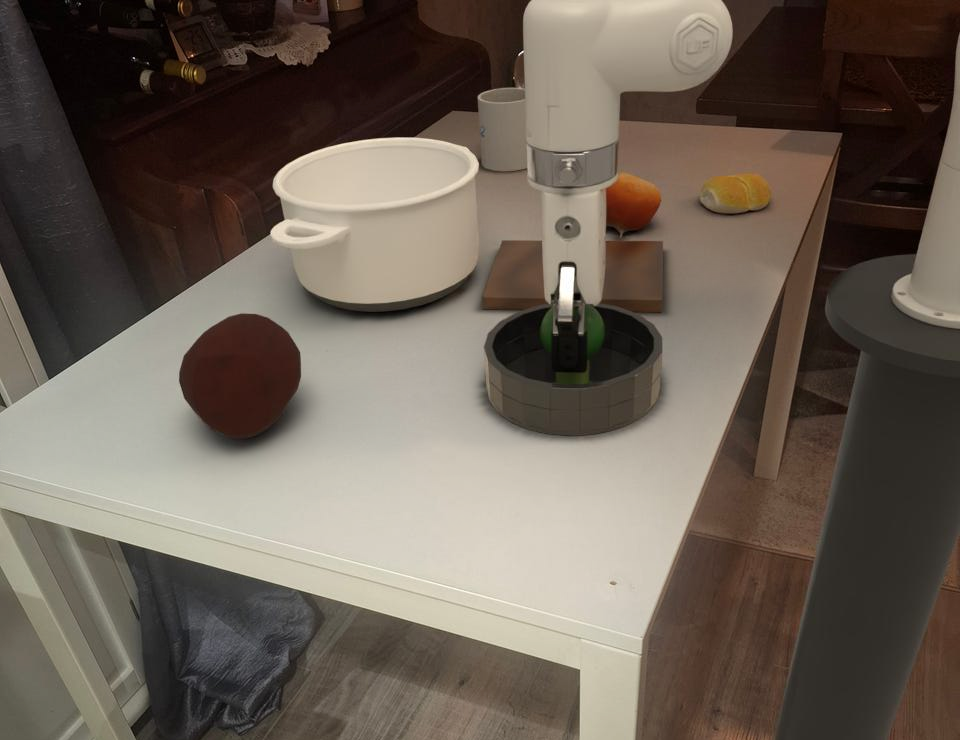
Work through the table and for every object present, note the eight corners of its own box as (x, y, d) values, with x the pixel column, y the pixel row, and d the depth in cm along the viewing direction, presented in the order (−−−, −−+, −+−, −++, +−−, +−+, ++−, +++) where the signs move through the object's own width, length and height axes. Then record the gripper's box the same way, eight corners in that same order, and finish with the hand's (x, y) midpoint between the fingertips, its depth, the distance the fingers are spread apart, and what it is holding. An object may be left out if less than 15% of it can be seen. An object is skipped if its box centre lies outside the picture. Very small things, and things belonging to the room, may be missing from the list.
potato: (317, 381, 91) (298, 287, 85) (303, 457, 80) (280, 356, 74) (209, 389, 91) (182, 296, 85) (180, 466, 80) (147, 366, 74)
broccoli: (605, 367, 88) (606, 288, 83) (602, 400, 84) (603, 319, 79) (545, 366, 89) (543, 288, 84) (538, 398, 85) (535, 317, 80)
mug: (525, 173, 136) (523, 104, 130) (473, 169, 139) (469, 102, 133) (550, 147, 145) (549, 82, 139) (501, 144, 148) (498, 80, 142)
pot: (391, 364, 93) (373, 238, 84) (226, 321, 103) (195, 205, 94) (538, 244, 115) (535, 135, 106) (390, 219, 125) (377, 117, 116)
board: (662, 252, 110) (663, 240, 109) (661, 312, 98) (662, 300, 97) (502, 251, 114) (501, 240, 113) (482, 309, 101) (481, 297, 100)
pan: (659, 347, 92) (662, 302, 89) (658, 439, 79) (662, 391, 76) (500, 343, 95) (498, 300, 92) (474, 432, 82) (471, 385, 79)
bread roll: (780, 207, 119) (785, 178, 117) (720, 219, 117) (724, 189, 115) (747, 188, 125) (751, 159, 123) (690, 199, 124) (692, 170, 121)
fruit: (574, 222, 116) (596, 160, 114) (608, 236, 122) (630, 177, 120) (621, 237, 111) (645, 173, 109) (654, 251, 117) (678, 191, 115)
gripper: (613, 199, 66) (607, 403, 77) (622, 128, 80) (616, 311, 91) (513, 199, 68) (521, 400, 79) (538, 130, 81) (542, 310, 92)
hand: (572, 351), depth 84 cm, fingers closed on broccoli, 5 cm apart
